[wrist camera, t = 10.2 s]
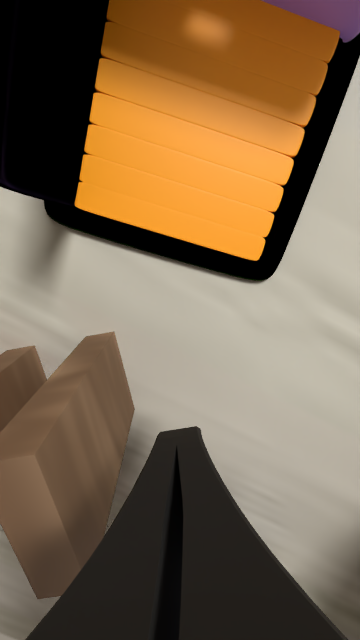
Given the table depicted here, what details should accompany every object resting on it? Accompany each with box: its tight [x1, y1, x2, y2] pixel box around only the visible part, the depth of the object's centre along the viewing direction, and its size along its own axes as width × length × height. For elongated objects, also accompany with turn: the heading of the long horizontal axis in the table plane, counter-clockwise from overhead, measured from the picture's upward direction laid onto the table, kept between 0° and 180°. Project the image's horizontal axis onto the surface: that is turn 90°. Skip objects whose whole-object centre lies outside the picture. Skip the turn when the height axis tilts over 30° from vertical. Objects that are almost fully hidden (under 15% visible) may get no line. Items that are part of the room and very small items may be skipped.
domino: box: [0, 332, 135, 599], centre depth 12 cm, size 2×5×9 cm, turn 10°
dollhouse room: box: [0, 0, 360, 281], centre depth 10 cm, size 12×12×7 cm
